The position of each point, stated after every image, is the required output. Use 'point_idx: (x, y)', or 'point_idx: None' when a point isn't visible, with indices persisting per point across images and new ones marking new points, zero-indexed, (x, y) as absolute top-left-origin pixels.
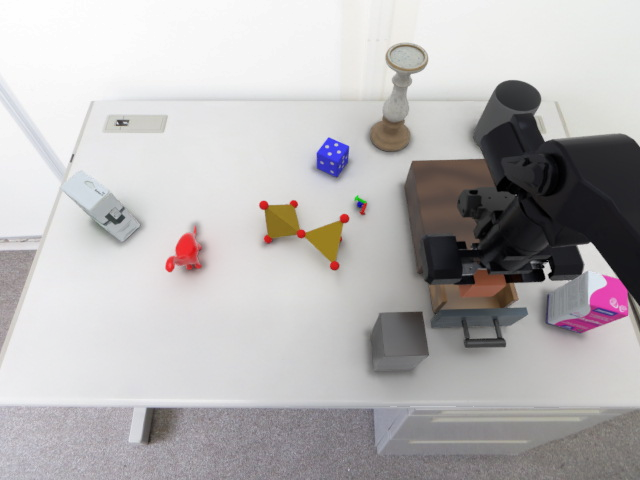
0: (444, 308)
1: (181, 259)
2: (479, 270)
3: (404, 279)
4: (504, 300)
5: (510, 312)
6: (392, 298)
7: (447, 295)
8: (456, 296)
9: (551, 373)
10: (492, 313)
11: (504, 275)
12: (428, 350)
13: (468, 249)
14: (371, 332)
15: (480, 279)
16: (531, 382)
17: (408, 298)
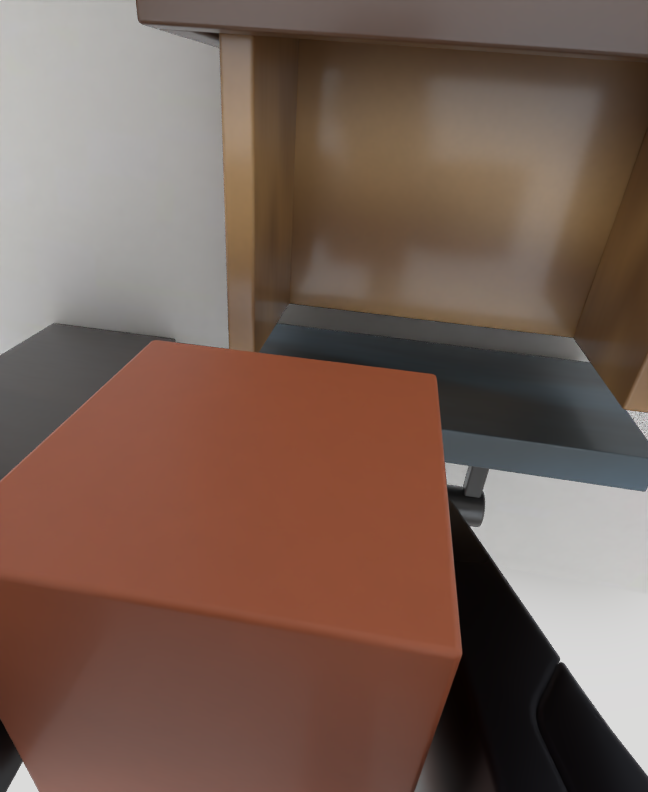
0: (314, 296)
1: None
2: (122, 733)
3: (180, 90)
4: (598, 336)
5: (556, 466)
6: (125, 190)
7: (345, 236)
8: (387, 247)
9: (629, 528)
10: (459, 456)
11: (429, 778)
12: None
13: (487, 3)
14: (32, 336)
15: (125, 784)
16: (546, 535)
17: (193, 199)
